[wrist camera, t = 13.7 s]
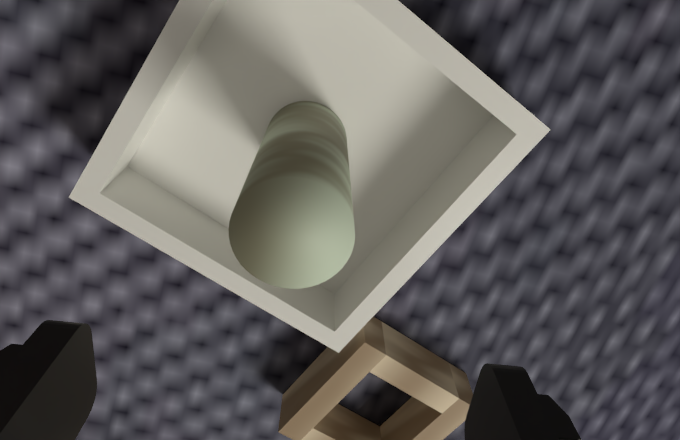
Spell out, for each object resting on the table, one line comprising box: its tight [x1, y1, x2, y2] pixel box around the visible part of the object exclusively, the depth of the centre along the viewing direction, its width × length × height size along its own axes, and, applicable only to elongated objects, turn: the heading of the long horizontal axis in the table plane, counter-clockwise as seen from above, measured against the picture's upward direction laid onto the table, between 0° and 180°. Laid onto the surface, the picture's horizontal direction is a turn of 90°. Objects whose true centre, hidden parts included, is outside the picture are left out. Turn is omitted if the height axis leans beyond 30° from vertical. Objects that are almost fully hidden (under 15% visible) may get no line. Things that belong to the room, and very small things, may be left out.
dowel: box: [229, 101, 355, 289], centre depth 20 cm, size 4×4×10 cm
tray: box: [69, 0, 550, 353], centre depth 24 cm, size 15×15×4 cm
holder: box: [278, 316, 473, 440], centre depth 31 cm, size 8×8×3 cm
